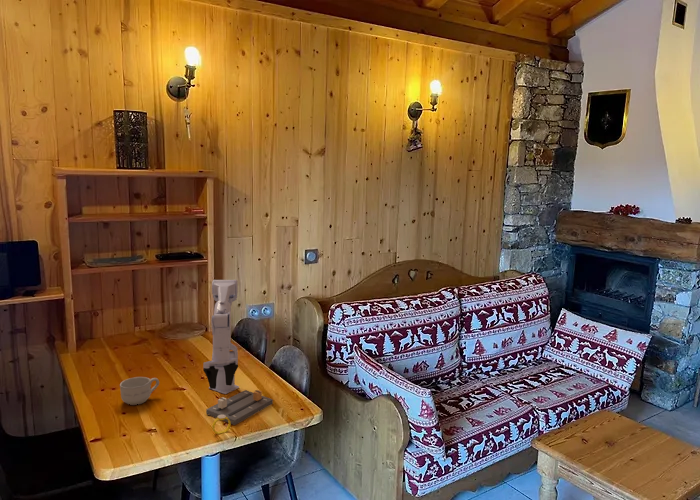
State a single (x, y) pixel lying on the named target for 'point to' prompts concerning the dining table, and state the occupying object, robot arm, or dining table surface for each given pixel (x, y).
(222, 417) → the watch
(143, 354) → the dining table surface
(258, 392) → the fader orange
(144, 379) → the teacup
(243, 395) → the fader panel
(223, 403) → the fader ivory
